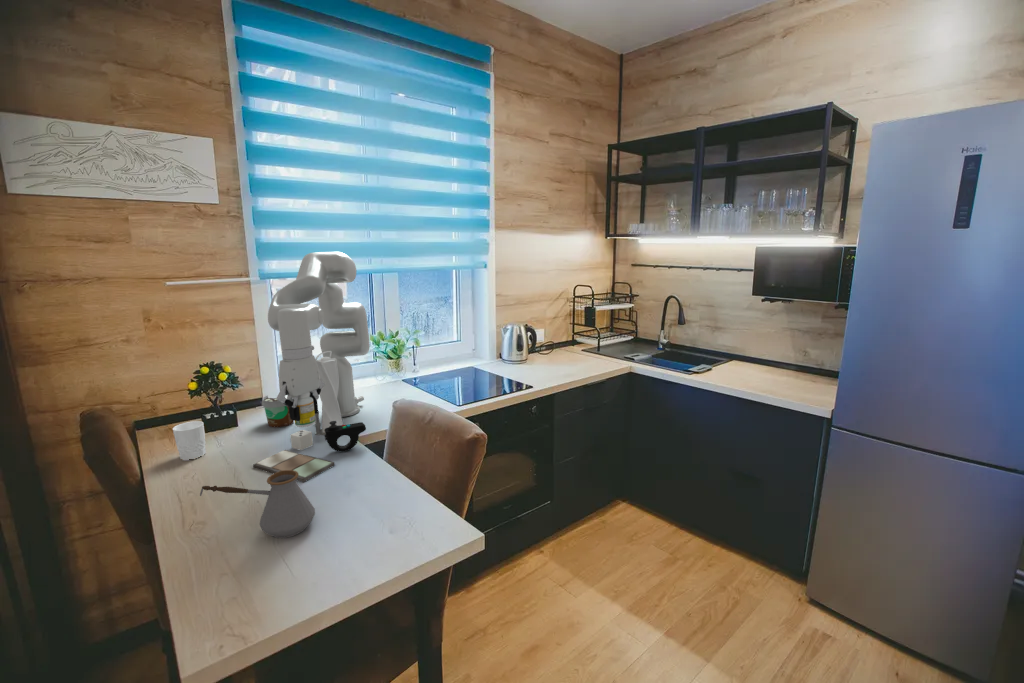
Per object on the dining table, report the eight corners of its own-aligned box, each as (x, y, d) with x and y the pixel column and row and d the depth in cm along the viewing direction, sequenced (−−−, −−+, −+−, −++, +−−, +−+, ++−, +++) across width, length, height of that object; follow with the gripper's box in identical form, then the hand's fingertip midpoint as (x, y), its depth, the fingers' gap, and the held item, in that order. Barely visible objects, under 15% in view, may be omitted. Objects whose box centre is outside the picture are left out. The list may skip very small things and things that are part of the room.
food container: (256, 427, 169) (252, 400, 167) (269, 420, 175) (266, 395, 173) (284, 430, 166) (280, 403, 164) (297, 423, 171) (293, 397, 169)
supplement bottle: (317, 425, 131) (313, 392, 129) (296, 429, 129) (292, 395, 127) (314, 419, 136) (310, 387, 134) (293, 423, 133) (289, 390, 131)
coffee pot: (312, 508, 116) (305, 452, 113) (320, 532, 106) (313, 471, 103) (209, 537, 105) (199, 475, 102) (208, 566, 95) (197, 499, 92)
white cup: (214, 450, 150) (209, 421, 148) (195, 462, 143) (190, 431, 140) (191, 450, 151) (186, 420, 149) (171, 461, 143) (166, 430, 141)
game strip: (285, 452, 148) (285, 449, 147) (334, 465, 138) (334, 461, 138) (253, 467, 138) (252, 463, 138) (303, 482, 129) (303, 478, 129)
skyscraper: (325, 426, 170) (317, 350, 164) (347, 426, 169) (340, 350, 163) (315, 435, 161) (306, 356, 155) (338, 435, 161) (330, 356, 155)
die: (303, 442, 155) (301, 429, 154) (313, 444, 153) (311, 431, 152) (291, 447, 151) (290, 434, 150) (301, 450, 149) (300, 436, 148)
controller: (325, 451, 148) (322, 421, 146) (366, 443, 153) (363, 414, 151) (327, 456, 144) (324, 426, 142) (368, 448, 150) (366, 418, 148)
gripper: (313, 345, 137) (319, 405, 141) (259, 359, 122) (268, 425, 126) (331, 348, 134) (338, 408, 138) (279, 361, 119) (287, 429, 123)
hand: (304, 415), depth 132 cm, fingers closed on supplement bottle, 5 cm apart
